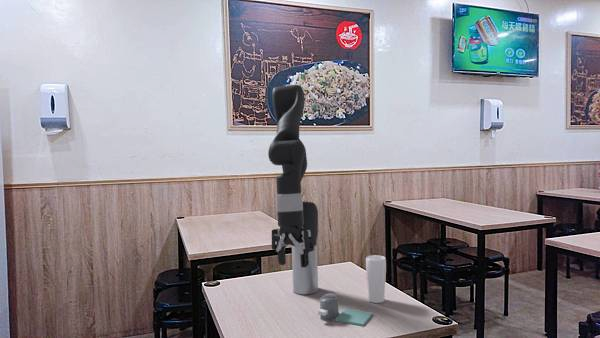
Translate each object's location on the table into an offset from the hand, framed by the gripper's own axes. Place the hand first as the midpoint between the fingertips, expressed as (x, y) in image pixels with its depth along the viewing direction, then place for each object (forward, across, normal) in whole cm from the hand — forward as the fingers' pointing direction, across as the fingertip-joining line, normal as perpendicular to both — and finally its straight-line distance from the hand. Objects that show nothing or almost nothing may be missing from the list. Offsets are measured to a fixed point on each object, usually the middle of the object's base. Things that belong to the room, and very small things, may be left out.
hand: (293, 265), depth 118 cm
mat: (+19, -7, -19) cm, 28 cm away
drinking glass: (+18, -5, -35) cm, 40 cm away
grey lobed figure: (+19, 0, -16) cm, 24 cm away
